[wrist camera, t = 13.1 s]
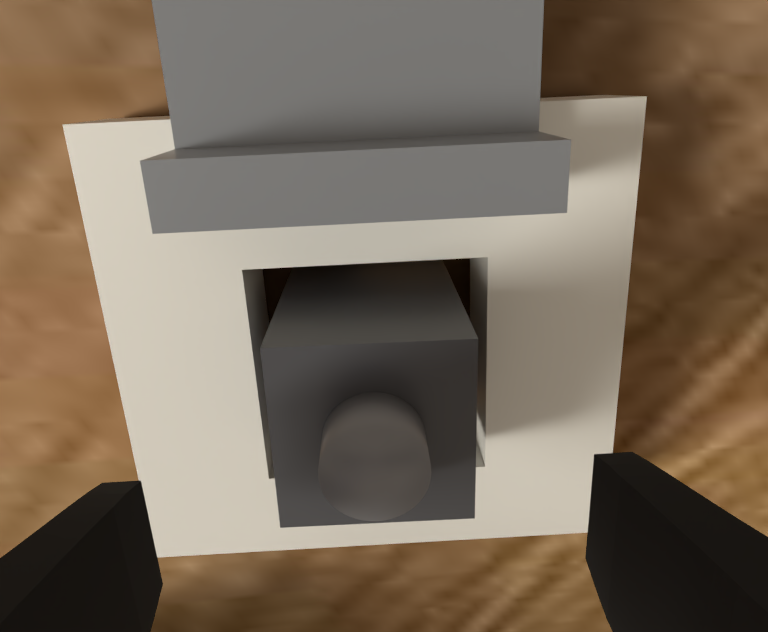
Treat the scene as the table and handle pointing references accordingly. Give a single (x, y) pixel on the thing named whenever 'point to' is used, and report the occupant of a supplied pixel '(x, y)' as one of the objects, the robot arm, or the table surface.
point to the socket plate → (358, 246)
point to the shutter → (351, 114)
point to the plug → (371, 395)
